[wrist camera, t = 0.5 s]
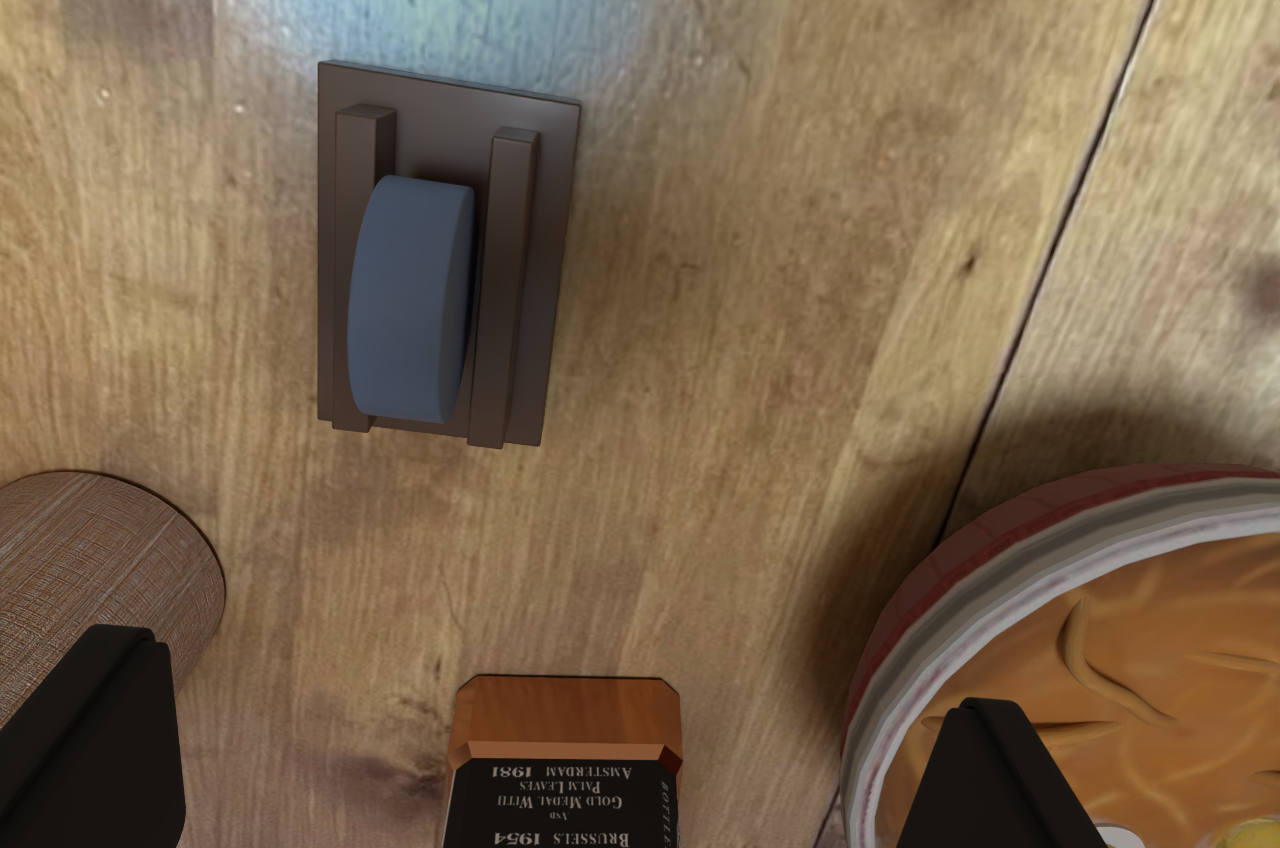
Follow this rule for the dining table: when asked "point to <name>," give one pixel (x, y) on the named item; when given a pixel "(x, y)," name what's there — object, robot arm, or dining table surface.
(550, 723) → the whiskey bottle
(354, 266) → the disc
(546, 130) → the rack
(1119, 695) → the bowl
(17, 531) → the planter
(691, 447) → the dining table surface
